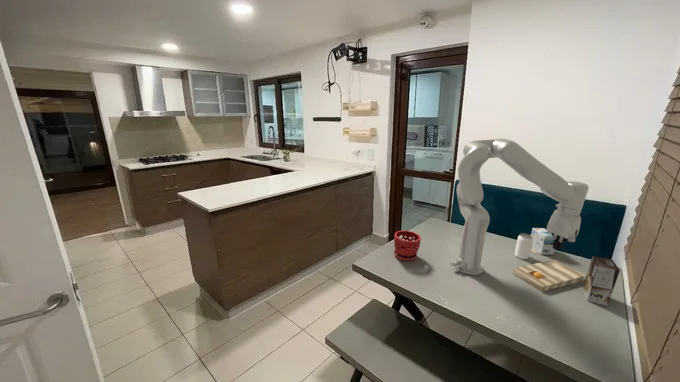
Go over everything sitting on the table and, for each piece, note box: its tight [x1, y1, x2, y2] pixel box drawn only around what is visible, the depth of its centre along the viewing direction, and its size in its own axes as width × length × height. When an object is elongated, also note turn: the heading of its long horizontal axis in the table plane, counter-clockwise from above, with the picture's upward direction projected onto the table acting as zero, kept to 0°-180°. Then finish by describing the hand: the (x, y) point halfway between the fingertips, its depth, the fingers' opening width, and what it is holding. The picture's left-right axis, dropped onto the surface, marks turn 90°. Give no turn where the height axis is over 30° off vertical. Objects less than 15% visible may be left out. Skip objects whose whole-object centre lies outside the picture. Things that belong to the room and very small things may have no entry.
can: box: [514, 232, 533, 260], centre depth 138 cm, size 6×6×12 cm
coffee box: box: [582, 255, 621, 307], centre depth 107 cm, size 9×6×16 cm
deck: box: [511, 259, 587, 293], centre depth 122 cm, size 26×14×2 cm, turn 108°
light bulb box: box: [530, 227, 556, 256], centre depth 145 cm, size 11×7×11 cm, turn 178°
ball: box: [533, 272, 543, 279], centre depth 120 cm, size 4×4×4 cm
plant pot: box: [393, 230, 422, 262], centre depth 139 cm, size 13×13×12 cm
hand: (556, 248), depth 120 cm, fingers closed
